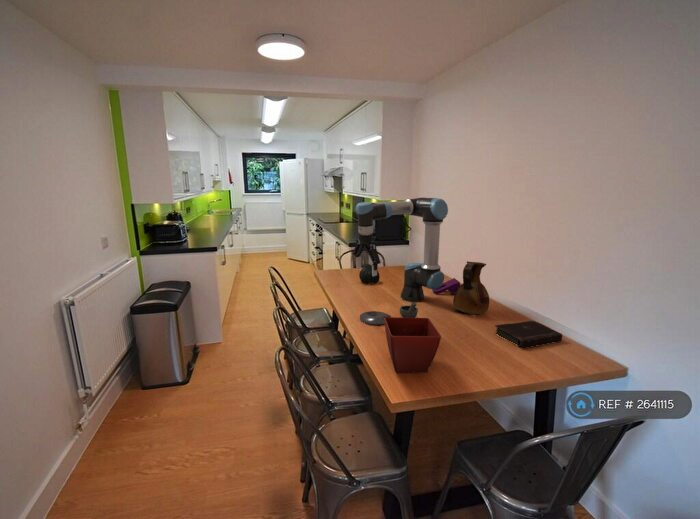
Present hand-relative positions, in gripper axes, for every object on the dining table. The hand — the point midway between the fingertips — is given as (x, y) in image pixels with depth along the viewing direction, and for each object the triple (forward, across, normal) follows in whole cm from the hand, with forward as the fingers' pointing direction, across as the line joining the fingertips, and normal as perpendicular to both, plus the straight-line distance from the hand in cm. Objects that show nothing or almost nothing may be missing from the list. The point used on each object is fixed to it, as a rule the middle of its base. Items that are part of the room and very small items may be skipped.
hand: (366, 271), depth 182 cm
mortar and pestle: (+27, +18, +14) cm, 36 cm away
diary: (+28, +64, +48) cm, 85 cm away
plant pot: (+21, +51, -18) cm, 58 cm away
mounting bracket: (+36, -4, +71) cm, 80 cm away
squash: (+36, -51, +41) cm, 74 cm away
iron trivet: (+26, +6, 0) cm, 27 cm away
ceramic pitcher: (+31, +28, +54) cm, 69 cm away
